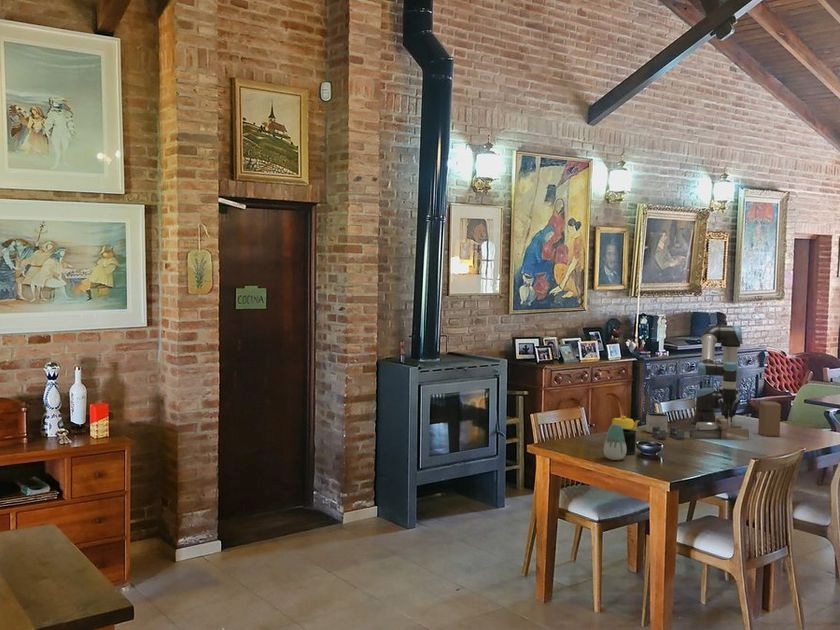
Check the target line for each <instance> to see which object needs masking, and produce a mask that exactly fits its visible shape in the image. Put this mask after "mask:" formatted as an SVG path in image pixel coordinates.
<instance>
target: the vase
mask: <svg viewBox="0 0 840 630" xmlns="http://www.w3.org/2000/svg"><path fill="white" fill-rule="evenodd" d="M626 452H627V448H626V443H625V438H624V433H623V429H622V427H621V426H620V425H613V424H612V423H611V424H610V426H609V428H608V430H607V434H606V436H605V440H604V445H603V455H604V456H605V458H607V460H611V461H621V460H624V459H625V457H626V455H627V454H626Z"/></svg>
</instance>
